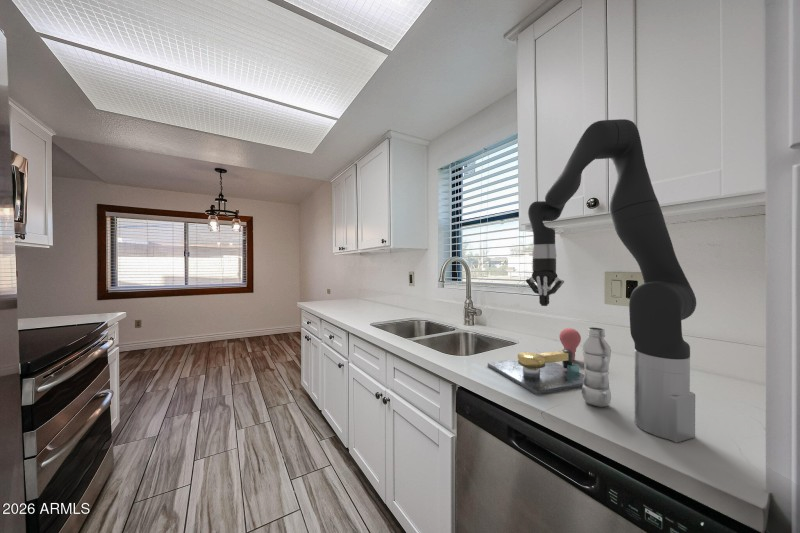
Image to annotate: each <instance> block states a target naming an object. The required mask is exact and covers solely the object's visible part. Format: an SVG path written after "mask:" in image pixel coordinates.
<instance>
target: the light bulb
mask: <svg viewBox="0 0 800 533" xmlns="http://www.w3.org/2000/svg"><path fill="white" fill-rule="evenodd" d="M581 340H582V337H581V334H580V332H579V331H578V330H576V329H574V328H571V327H567V328H564V329H562V330H561V331H560V333H559V341H560V342H561V345H562V346H563V350H564V349H567V350H571V351H573V360H575V359H576V352H577V348H578V347H579V345H580V343H581V342H582V341H581Z"/></svg>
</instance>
